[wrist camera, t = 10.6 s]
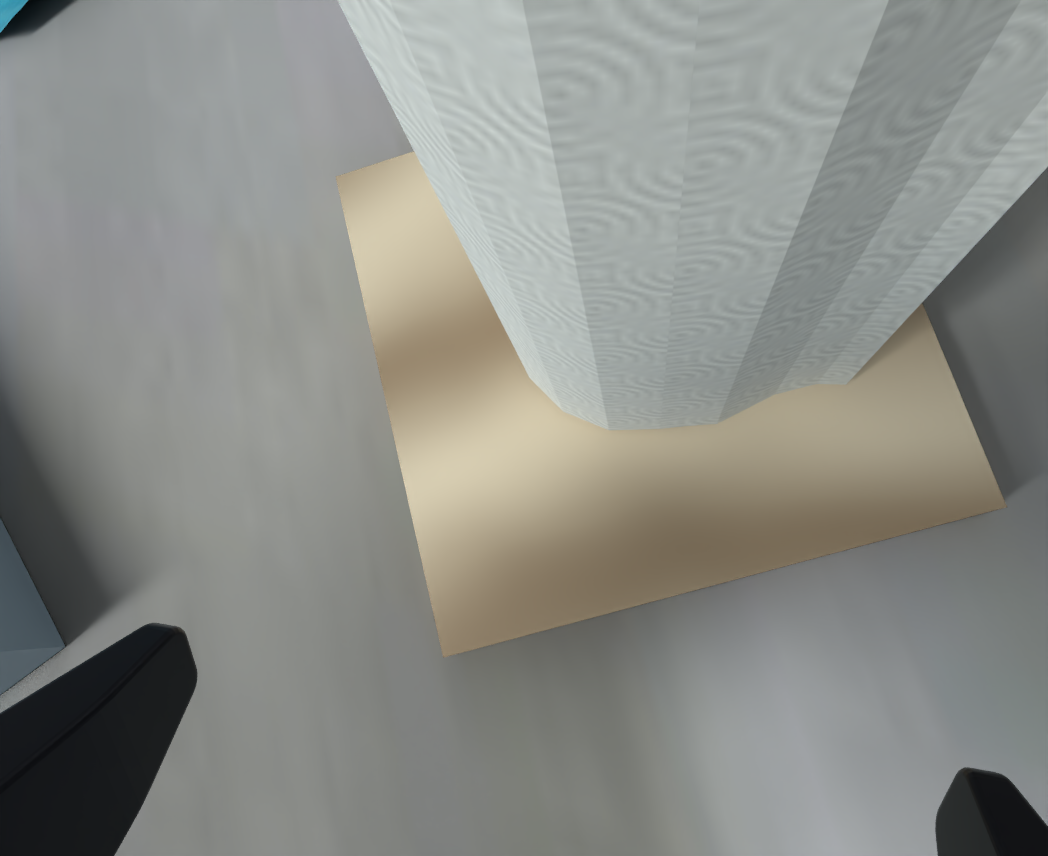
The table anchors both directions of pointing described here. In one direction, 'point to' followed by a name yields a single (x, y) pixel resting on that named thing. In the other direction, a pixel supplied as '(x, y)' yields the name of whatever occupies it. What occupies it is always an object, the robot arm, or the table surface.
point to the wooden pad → (624, 451)
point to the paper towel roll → (712, 177)
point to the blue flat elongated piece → (9, 10)
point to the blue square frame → (21, 619)
